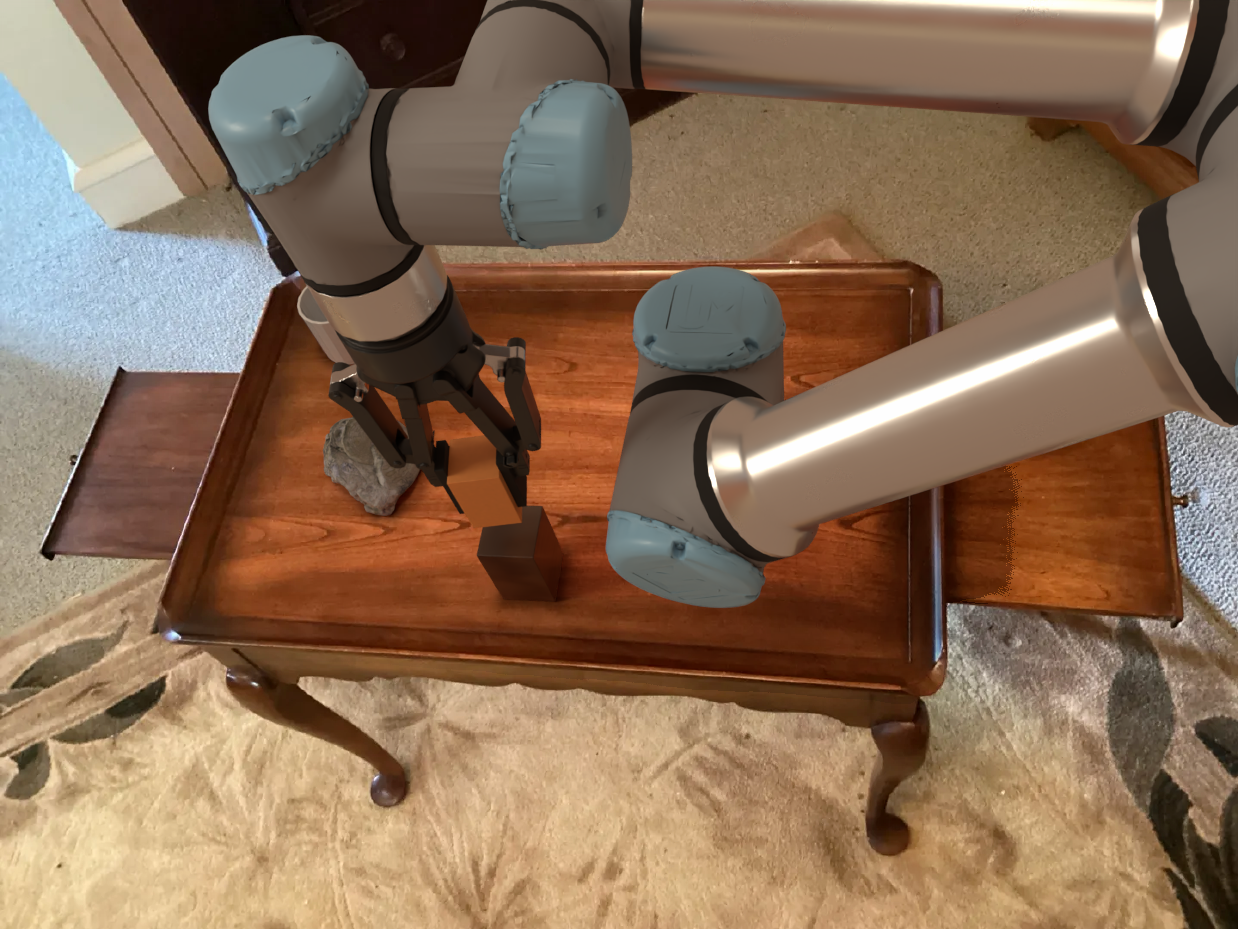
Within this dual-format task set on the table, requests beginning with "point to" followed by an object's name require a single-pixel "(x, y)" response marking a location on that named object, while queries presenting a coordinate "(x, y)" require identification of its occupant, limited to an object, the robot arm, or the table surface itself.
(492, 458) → the orange block
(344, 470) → the fossilized seashell
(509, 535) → the dark brown block
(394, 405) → the table surface
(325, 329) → the plain cylindrical cup
